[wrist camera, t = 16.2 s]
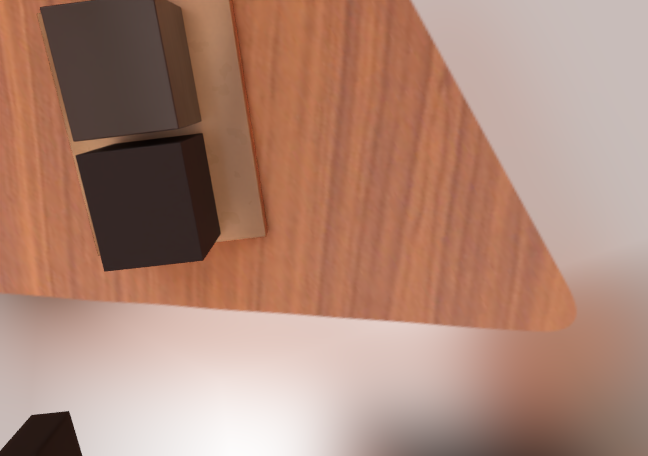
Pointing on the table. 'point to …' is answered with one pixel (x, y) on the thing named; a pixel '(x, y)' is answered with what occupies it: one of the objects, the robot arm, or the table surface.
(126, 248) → the black cube
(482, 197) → the table surface
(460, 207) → the table surface
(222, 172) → the board
